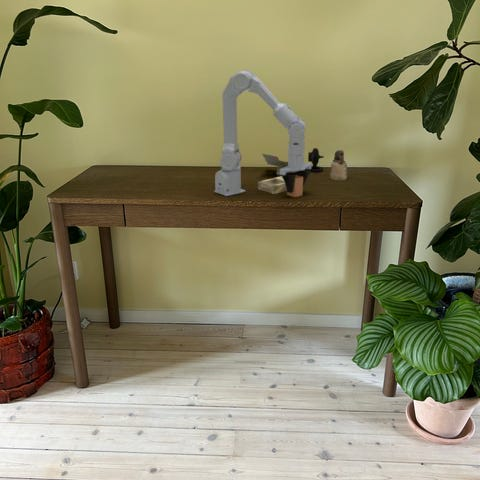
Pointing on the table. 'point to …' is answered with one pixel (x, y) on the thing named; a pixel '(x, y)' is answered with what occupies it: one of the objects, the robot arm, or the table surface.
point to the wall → (275, 162)
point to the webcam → (314, 160)
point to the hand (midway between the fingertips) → (295, 190)
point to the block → (297, 187)
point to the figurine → (338, 167)
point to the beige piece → (272, 185)
